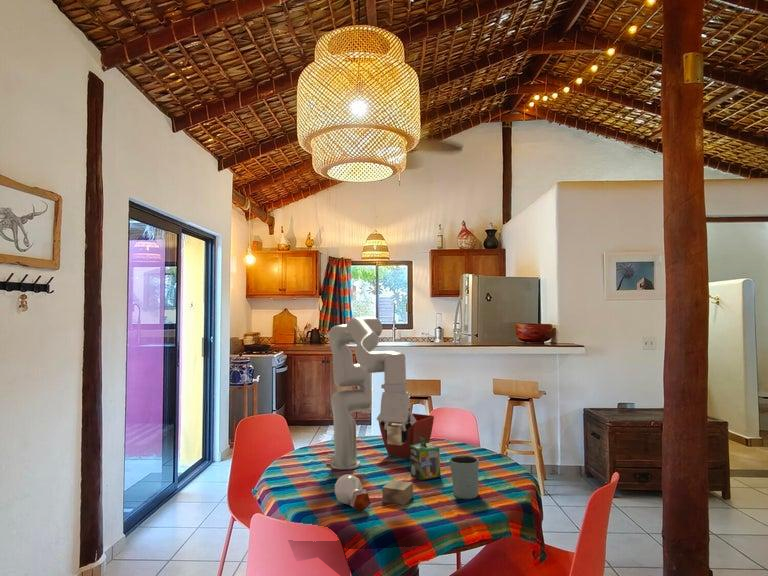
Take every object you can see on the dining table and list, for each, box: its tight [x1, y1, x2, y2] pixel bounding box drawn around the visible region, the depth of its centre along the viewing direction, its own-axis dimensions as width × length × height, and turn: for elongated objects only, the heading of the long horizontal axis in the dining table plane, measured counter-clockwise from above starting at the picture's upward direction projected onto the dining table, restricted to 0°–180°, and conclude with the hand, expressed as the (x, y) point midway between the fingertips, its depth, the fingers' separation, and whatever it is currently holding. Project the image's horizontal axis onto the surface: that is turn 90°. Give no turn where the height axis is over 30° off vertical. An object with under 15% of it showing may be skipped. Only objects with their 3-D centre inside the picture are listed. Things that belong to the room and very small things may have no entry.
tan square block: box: [381, 479, 414, 506], centre depth 167 cm, size 8×8×5 cm
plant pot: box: [378, 413, 435, 460], centre depth 222 cm, size 19×19×17 cm
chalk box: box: [409, 437, 442, 481], centre depth 192 cm, size 9×9×15 cm
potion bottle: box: [334, 473, 371, 513], centre depth 162 cm, size 9×10×15 cm
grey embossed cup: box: [449, 455, 480, 500], centre depth 170 cm, size 10×10×12 cm
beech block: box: [387, 423, 404, 445], centre depth 168 cm, size 5×5×6 cm
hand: (396, 440), depth 168 cm, fingers closed on beech block, 5 cm apart
